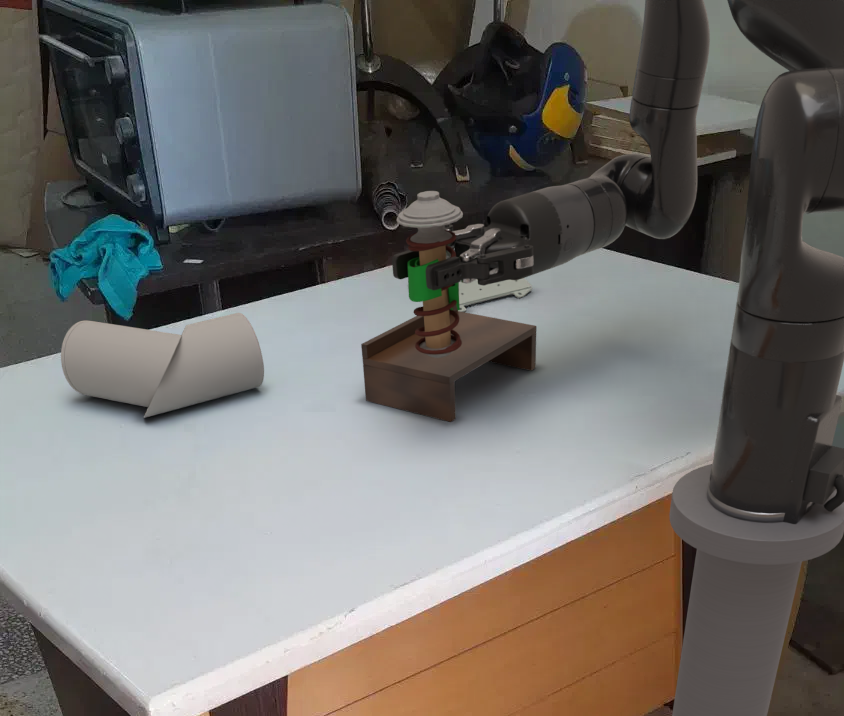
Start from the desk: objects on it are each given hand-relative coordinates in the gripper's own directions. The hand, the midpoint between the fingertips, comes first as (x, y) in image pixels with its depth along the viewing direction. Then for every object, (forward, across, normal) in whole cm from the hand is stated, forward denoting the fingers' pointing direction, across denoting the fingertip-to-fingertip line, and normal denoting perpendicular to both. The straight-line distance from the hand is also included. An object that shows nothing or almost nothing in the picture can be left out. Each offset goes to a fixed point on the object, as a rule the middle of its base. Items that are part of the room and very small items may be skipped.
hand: (412, 273), depth 99 cm
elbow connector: (+16, -30, +16) cm, 38 cm away
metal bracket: (-34, -34, +17) cm, 51 cm away
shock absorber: (-3, 0, +9) cm, 9 cm away
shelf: (-11, -9, +17) cm, 22 cm away
